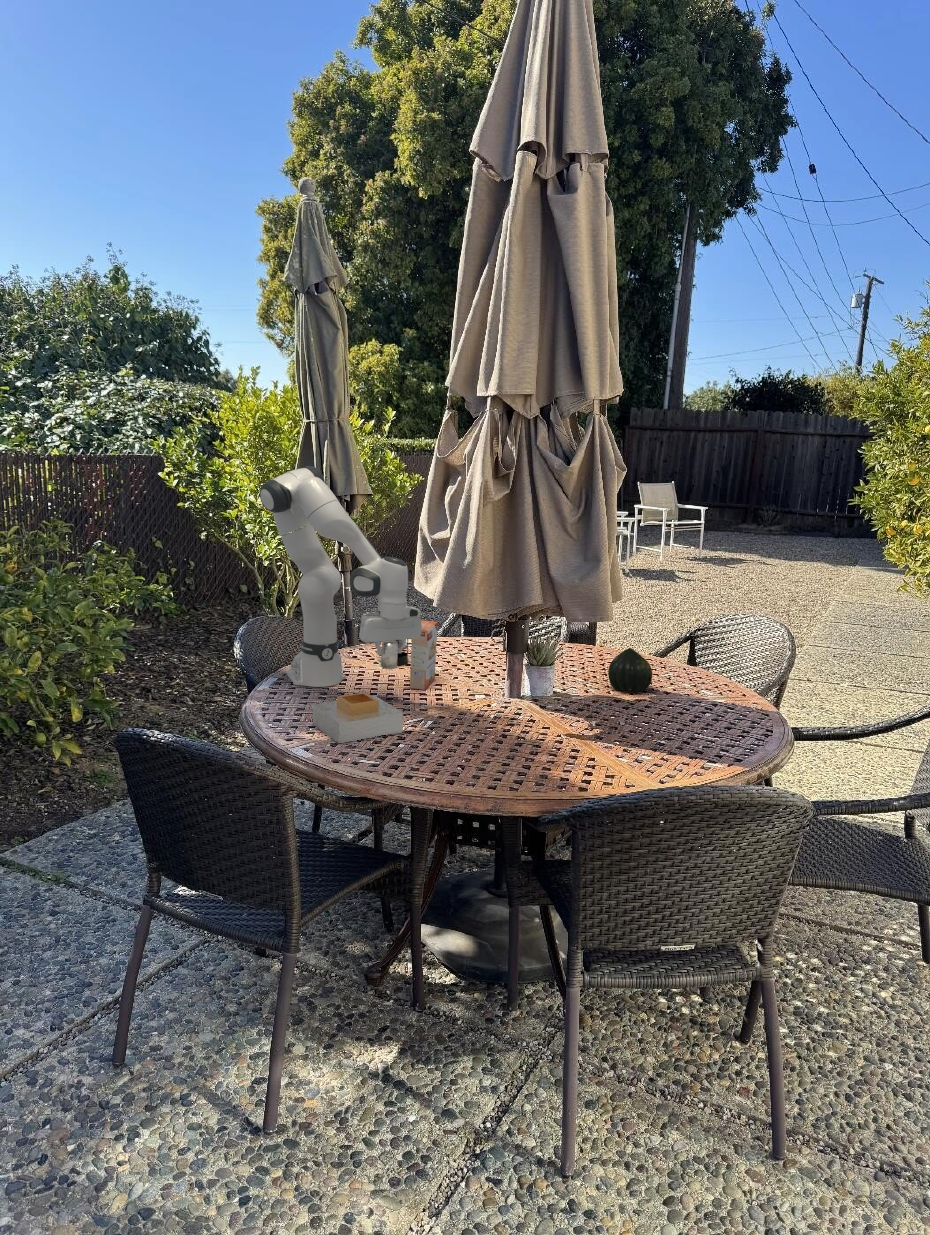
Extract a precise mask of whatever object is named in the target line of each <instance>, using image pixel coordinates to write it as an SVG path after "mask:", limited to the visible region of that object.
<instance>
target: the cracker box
mask: <svg viewBox="0 0 930 1235" xmlns="http://www.w3.org/2000/svg"><path fill="white" fill-rule="evenodd" d="M437 638H438V622H437V621H433V620H432V621H431V620H421V635H420V637H419V638H415V639H411V645H410V646H411V647H410V648H411V652H410V670H409V671H410V672H409V673H410V677H409V689H411V690H418V689H419V691H426V690H427V689H428V688H429V686H430V685H431V684H432V683H433V682H434V681H435V679H436V665H437V664H436V662H437V661H436V660H437V659H436V658H437V644H438V643H437V641H438V639H437Z"/></svg>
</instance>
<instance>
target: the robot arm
mask: <svg viewBox="0 0 930 1235" xmlns="http://www.w3.org/2000/svg"><path fill="white" fill-rule="evenodd" d="M259 499H260V502H261V504H262V506H263V507H264V508H265V509H266V510H267V511H269V512H270V513H272V516H273V519H274V523H275V526H276V528H277V531H278V534H279V536H280V538H281V541H282V543H283V546H284V547H285V550H286V552H287V554H288V556H289V559H290V560H291V561H292V562H293V563H294V564H295V565H296V567H297V568H298V569H299V570H300V572H301V574H302V575H303V576H302V577H301V578H300V580H299V582H298V585H297V593H298V597H299V600H300V606H301V610H302V621H303V624H302V625H303V639H301V646H300V651H299V652H298V653H297V655H295V656H294V657H293V660H292V661H291V662H290V667H291V668H290V669H287V670H286V672H285V674H286V675H287V677H288V678H289V679H290V681H291V683H292V682H293V683H292V685H294V686H305V687H313V688H314V687H317V688H319V687H320V688H321V687H322V688H325V687H331V686H336V685H339V684H340V683H342V681H343V680H345V679H346V678H347V677H346V674H344V673H343V664H342V662H343V661H342V656H341V654H339V653H338V651H339V640H338V639H337V636H338V635H337V634H338V633H337V632H338V622H337V621H338V617H337V615H336V611H335V605H334V596H335V594H336V593H338V591H339V590H340V587H341V584H342V575H341V573H340V571H339V569H337V568H336V567H335V565H334V563H333V561H332V560H331V558H330V557H329V555H328V553H327V552H326V550H325V548H324V547H323V545H322V543H321V541H320V539H319V537H318V535H317V533H318V534H319V535H320V536H321V537H323V538H325V539H329V540H334V541H337V542H340V543H343V544H344V545H345V546H347V547H348V548H349V549H350V550H351V551H352V552H353V553H354V556H356V558H357V559H358V560H359V562H360V563H361V564H362V565H361V566H358V567H356V568H355V569H354V570H352V572H351V573H350V576H349V586H350V589H351V591H352V593H354V594H355V595H357V596H358V597H361V598H363V597H364V598H367V597H368V598H370V597H377V610H376V611H366V612H365V613H363V615H361V617H360V629H359V635H358V636H359V638H358V639H360V641H361V642H363V643H365V644H368V643H374V646H375V648H376V653H377V655H378V656H381V655H384V649H382V641H392V640H399V641H400V643H399V645H398V653H402V652H403V650H402V648H403V646H404V645H406V644H407V639H408V640H412V639H415V638H419V637H420V635H421V621H422V619H421V614H422V612H421V611H422V610H420V609H418V608H416V607H415V606H411V605H410V604H408V601H407V599H408V598H407V591H408V589H409V588H408V587H409V570H408V569H409V568H408V565H407V563H406V562H405V561H404V560H403V559H401V558H397V557H396V556H395V557H393V556H384V557H383V556H382V555H381V554H380V553H379V552H378V550H377V549H376V548H375V546H374V545H373V544H372V541H370V539H369V538H368V537H367V535H365V533H364V532H363V531H362V529H361V528H360V527H359V526H358V525H357V523H355V522H354V520H353V519H352V518H351V517H350V515H349V514H348V513H347V511H346V510H345V509H344V507H343V506H342V505H341V502H340V501H339V500H338V498H337V497H336V495H335V494H334V493H333V491H332V490H331V489H330V487H329V486H328V485H327V484H326V482H325V478H324V475H323V473H322V472H321V471H320V470H319V469H318V467H316V466H312V465H309V466H302V467H300V468H297V469H293V470H289V471H287V472H284V473H282V474H281V475H279V476H276V477H274V478H272V479H268V480H267V481H265V482H263V484H262V485H261V486H260V488H259Z"/></svg>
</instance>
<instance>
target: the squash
mask: <svg viewBox="0 0 930 1235" xmlns="http://www.w3.org/2000/svg"><path fill="white" fill-rule="evenodd" d="M607 673H608V674H607V676H608V680H609V683H610V686H611V687H612V689H614V690H617V691H618V692H619V691H627V690H628V691H631V692H632V693H634V694H640V693H642V692H643V691H646V689H648V688H649V687H650V686H651V683H652V681H653V669H652V667H651V664H650V663H649V661H648V660H647V659H646V658H644V657H643V656H642V655H641V654H640V653H638V652H637V651H636V650H634V649H633V648H631V647H629V648H627V649H624V650H623V651H621V652H620V653H619V654H617V655H616V656H615V658H613V660H612V661H610V663H609V667H608V672H607Z"/></svg>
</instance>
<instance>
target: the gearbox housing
mask: <svg viewBox="0 0 930 1235" xmlns="http://www.w3.org/2000/svg"><path fill="white" fill-rule="evenodd" d="M312 726H315V727H316V728H317V729H318V730H320V731H321V732H323V733H324V734H325V735H326V734H327V735H326V736H328V737H329V738H330V739H332V740H333V741H335V743H337V742H338V743H342V744H345V743H344V742H348V743H350V742H349V741H353V742H357V740H359V741H362V740H361V739H364V740H367V739H366V738H370V739H372V738H371V737H375V736H376V737H375V738H378V737H377V736H381V735H386V736H389V735H388V734H392V735H396V734H403V733H402V732H404V731H403V730H404V727H403V726H404V712H403V711H401V710H399V708H396V707H395V706H393V705H391V704H390V703H388V702H387V701H385V700H383V699H381V698H380V697H378V696H376V695H370V694H368V692H365V691H364V692H358V693H351V694H344V695H337V696H336V700H334V701H327V702H321V703H314V704H312ZM381 737H382V736H381ZM338 743H337V744H338Z"/></svg>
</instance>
